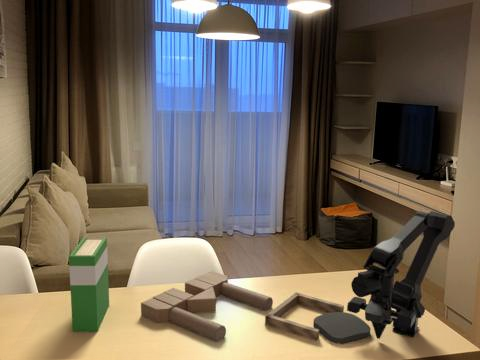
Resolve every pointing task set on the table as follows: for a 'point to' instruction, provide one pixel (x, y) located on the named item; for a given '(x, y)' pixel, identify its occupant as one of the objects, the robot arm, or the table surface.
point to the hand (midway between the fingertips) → (378, 338)
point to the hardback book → (89, 284)
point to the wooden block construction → (200, 304)
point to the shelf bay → (296, 328)
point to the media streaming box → (341, 327)
